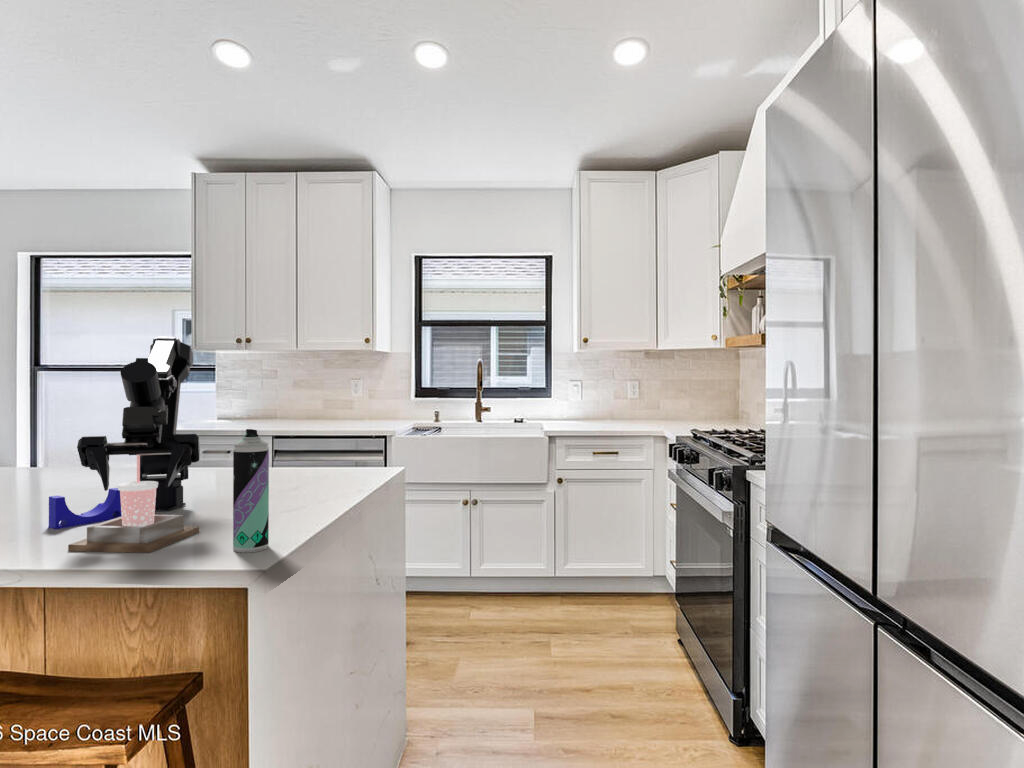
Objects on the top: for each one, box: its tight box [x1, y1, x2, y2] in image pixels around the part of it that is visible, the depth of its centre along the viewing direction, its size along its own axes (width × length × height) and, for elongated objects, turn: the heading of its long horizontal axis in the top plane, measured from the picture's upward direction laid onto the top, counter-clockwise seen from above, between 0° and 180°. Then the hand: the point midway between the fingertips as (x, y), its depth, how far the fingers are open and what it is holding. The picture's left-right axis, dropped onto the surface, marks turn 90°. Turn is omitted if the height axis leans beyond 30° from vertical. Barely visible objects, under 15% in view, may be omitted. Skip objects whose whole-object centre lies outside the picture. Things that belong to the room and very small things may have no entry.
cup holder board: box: [67, 514, 200, 554], centre depth 108 cm, size 14×14×4 cm
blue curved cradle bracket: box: [48, 487, 122, 530], centre depth 123 cm, size 12×4×6 cm, turn 147°
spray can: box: [232, 428, 270, 554], centre depth 104 cm, size 6×6×20 cm
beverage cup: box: [117, 455, 158, 527], centre depth 108 cm, size 6×6×14 cm
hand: (136, 487), depth 107 cm, fingers open, 9 cm apart
